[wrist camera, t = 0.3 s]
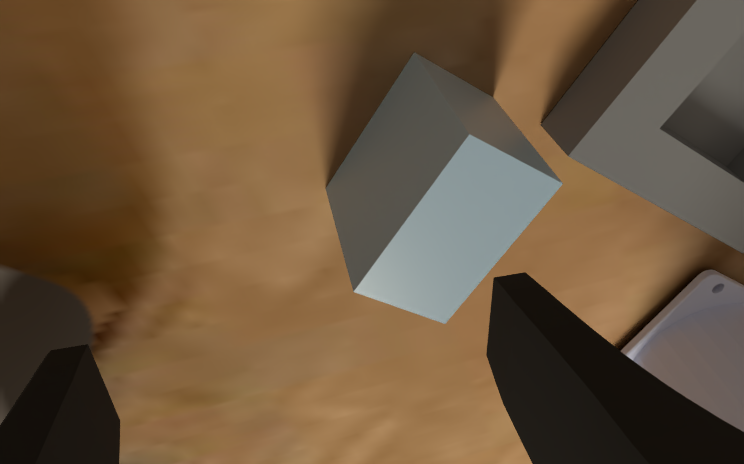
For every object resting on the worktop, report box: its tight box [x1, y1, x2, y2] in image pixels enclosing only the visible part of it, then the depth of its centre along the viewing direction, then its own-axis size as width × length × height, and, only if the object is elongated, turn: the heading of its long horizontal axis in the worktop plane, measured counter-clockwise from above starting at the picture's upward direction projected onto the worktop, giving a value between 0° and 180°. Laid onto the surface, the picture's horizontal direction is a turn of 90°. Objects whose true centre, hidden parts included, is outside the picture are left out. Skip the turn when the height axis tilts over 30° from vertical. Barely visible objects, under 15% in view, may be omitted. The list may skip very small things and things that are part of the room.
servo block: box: [326, 52, 563, 324], centre depth 19 cm, size 3×5×5 cm, turn 147°
